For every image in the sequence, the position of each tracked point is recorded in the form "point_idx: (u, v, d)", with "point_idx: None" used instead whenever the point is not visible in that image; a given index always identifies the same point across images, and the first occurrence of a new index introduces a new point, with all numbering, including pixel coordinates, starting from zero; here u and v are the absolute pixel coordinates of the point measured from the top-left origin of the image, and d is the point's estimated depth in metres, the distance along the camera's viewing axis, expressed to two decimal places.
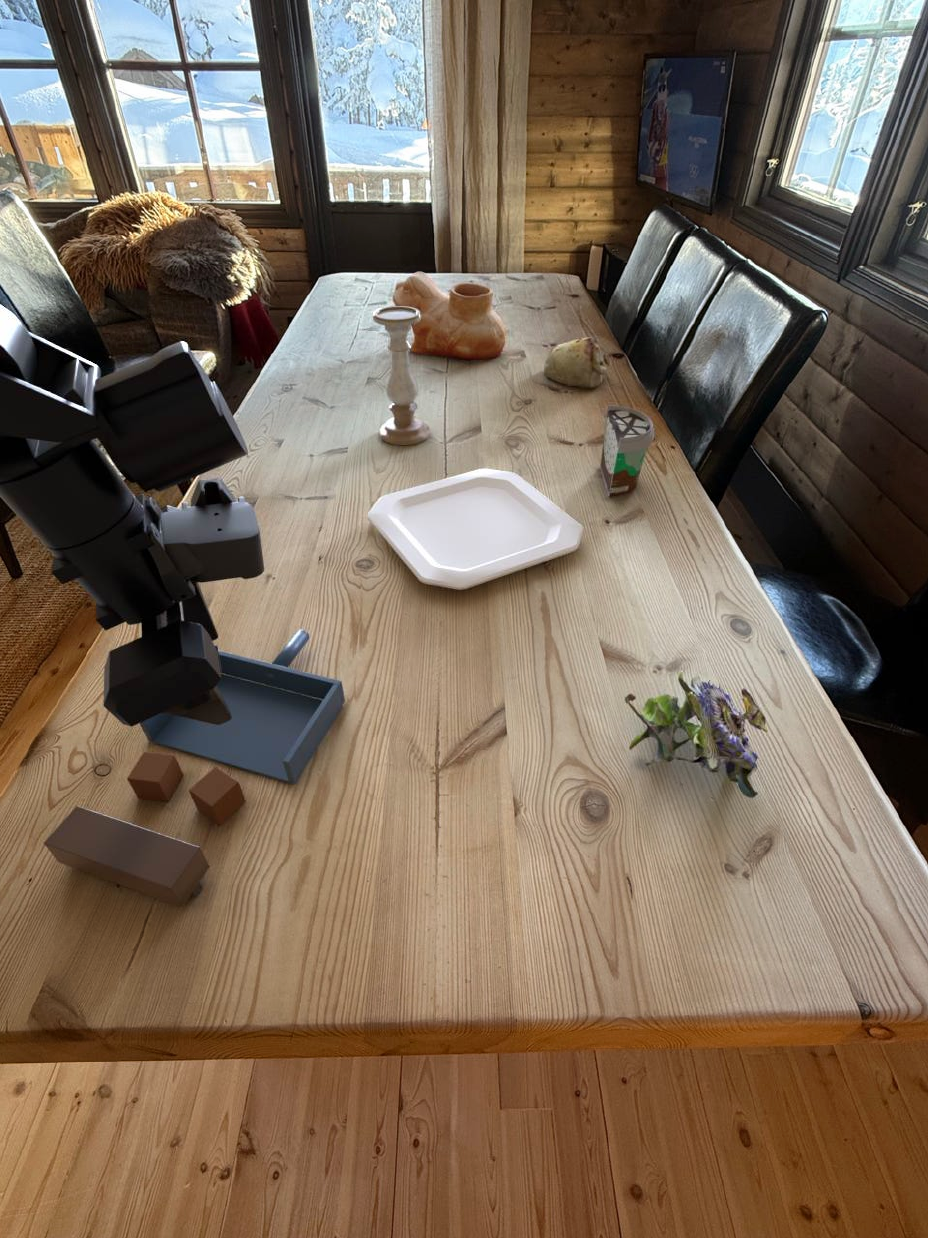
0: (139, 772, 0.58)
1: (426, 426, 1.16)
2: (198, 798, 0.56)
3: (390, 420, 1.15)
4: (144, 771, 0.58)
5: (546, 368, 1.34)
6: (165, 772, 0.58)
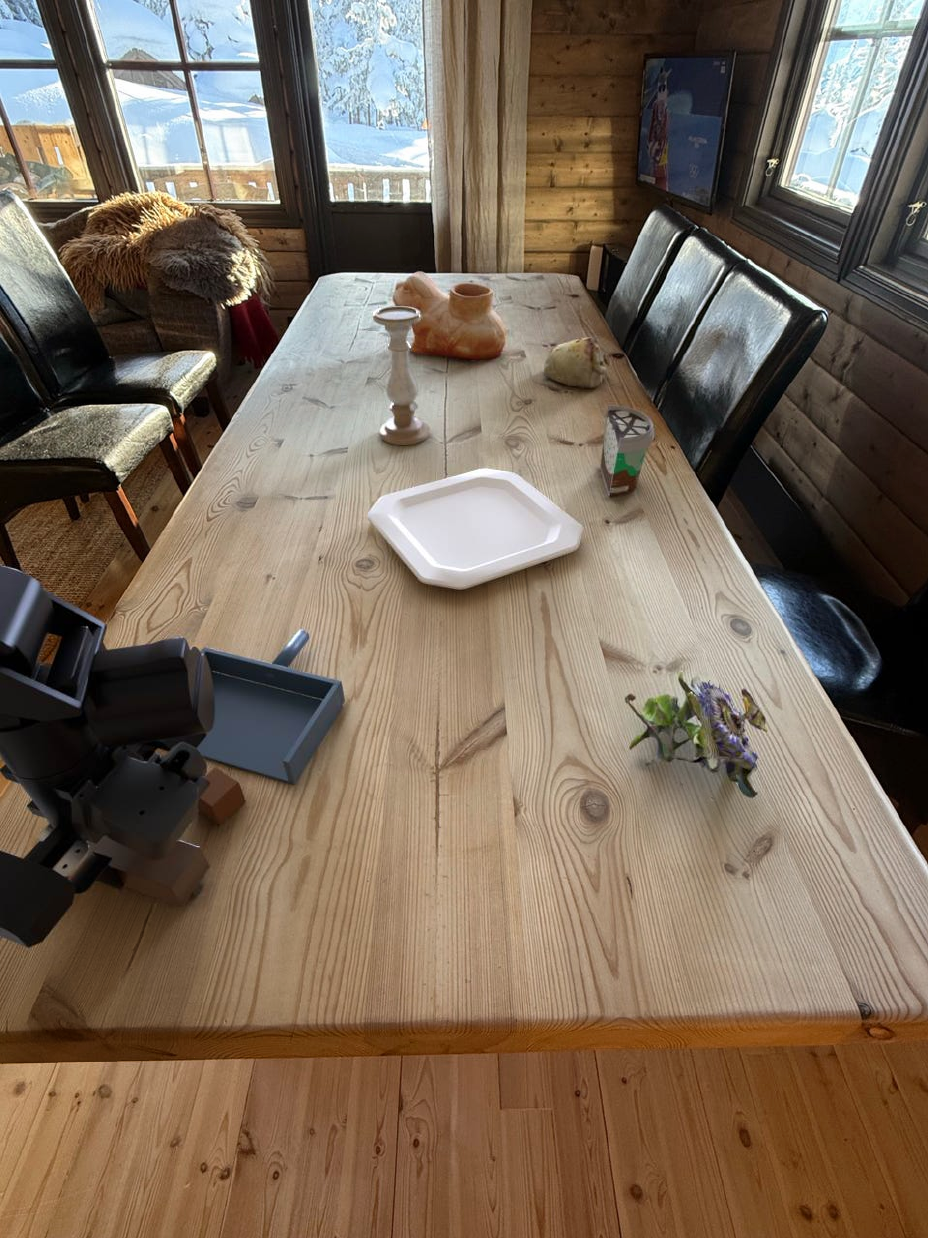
0: None
1: (426, 426, 1.16)
2: None
3: (390, 420, 1.15)
4: None
5: (546, 368, 1.34)
6: None
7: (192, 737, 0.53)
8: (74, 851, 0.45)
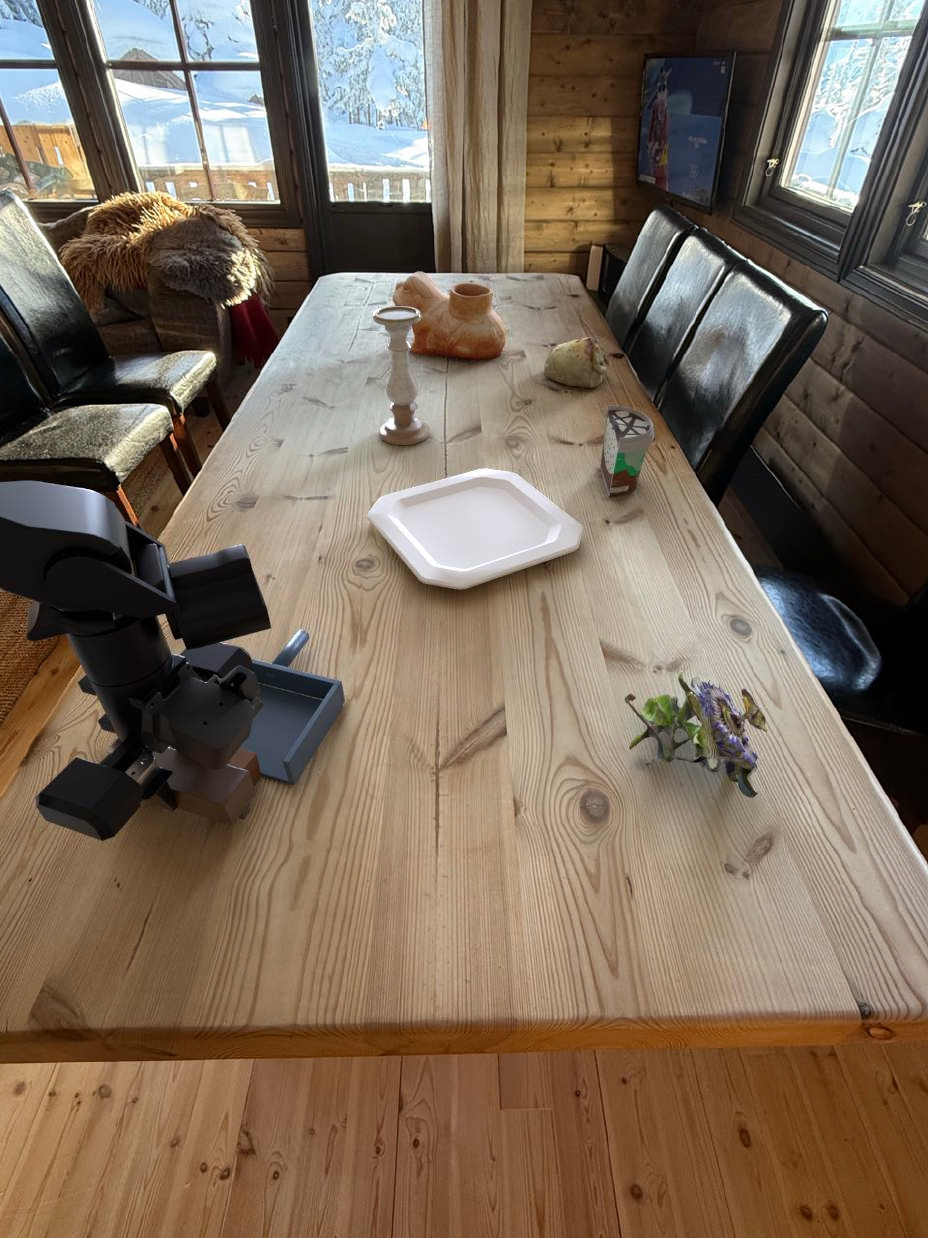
0: None
1: (426, 426, 1.16)
2: None
3: (390, 420, 1.15)
4: None
5: (546, 368, 1.34)
6: None
7: None
8: (141, 761, 0.49)
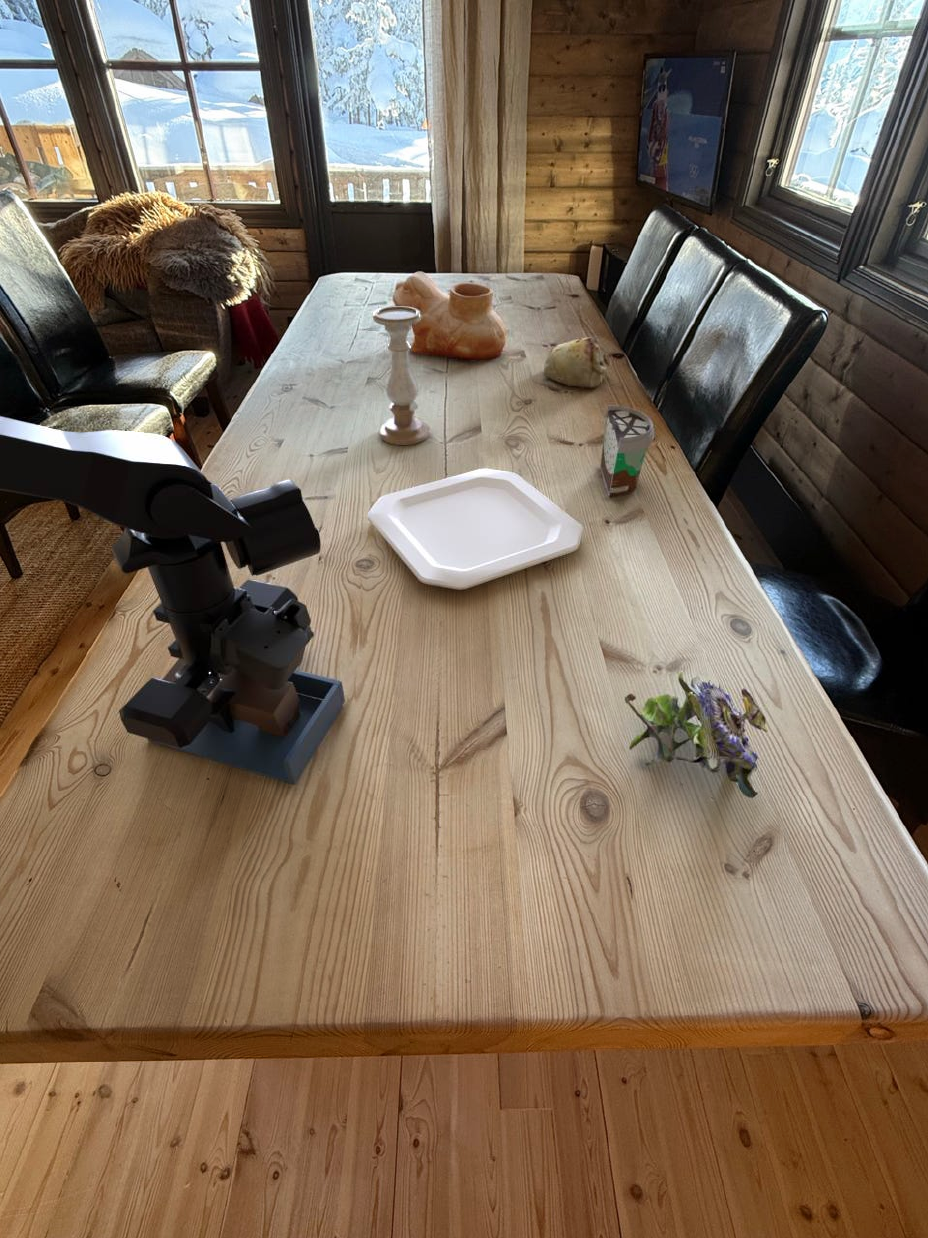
0: None
1: (426, 426, 1.16)
2: None
3: (390, 420, 1.15)
4: None
5: (546, 368, 1.34)
6: None
7: None
8: (209, 681, 0.56)
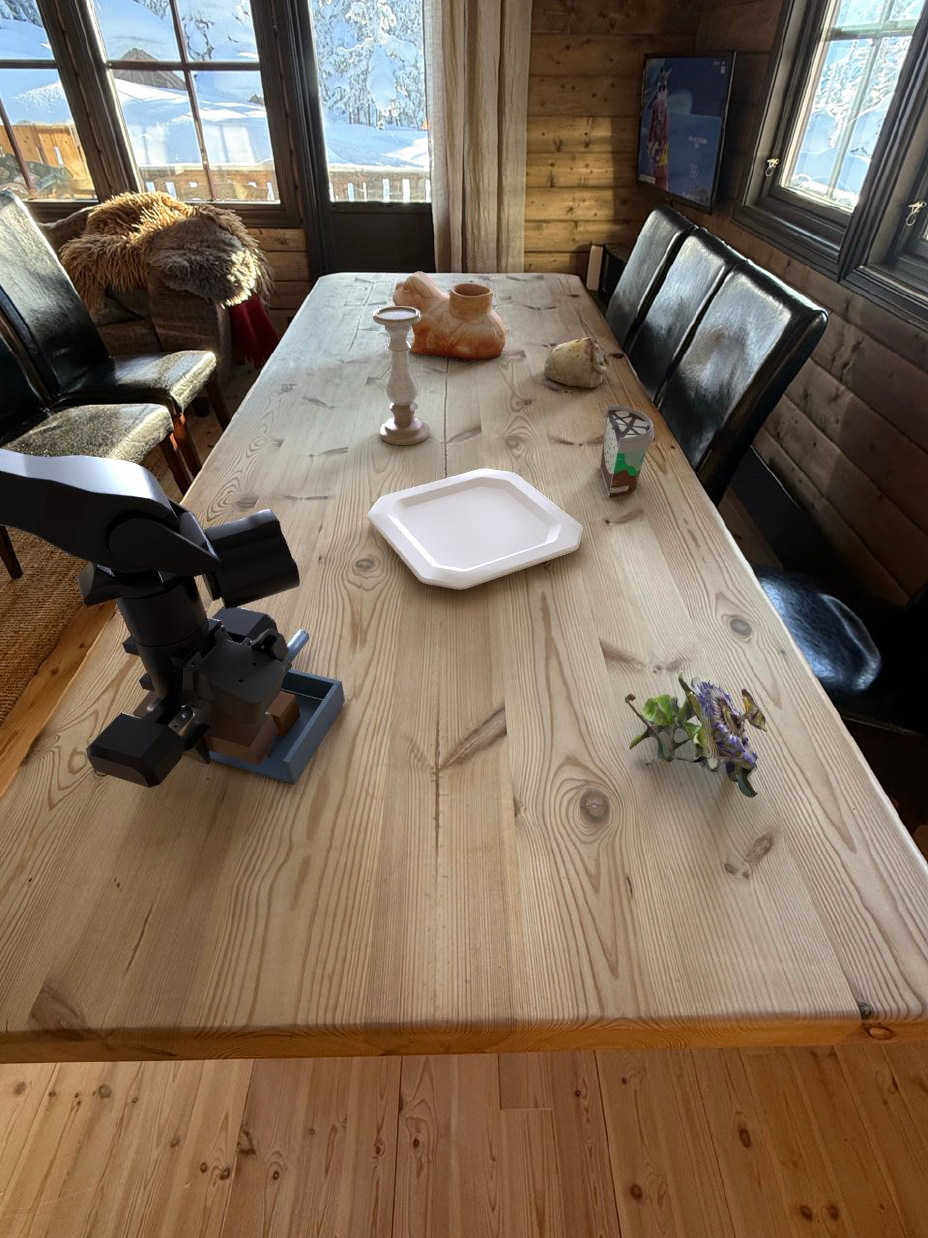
0: None
1: (426, 426, 1.16)
2: None
3: (390, 420, 1.15)
4: None
5: (546, 368, 1.34)
6: None
7: None
8: (181, 715, 0.53)
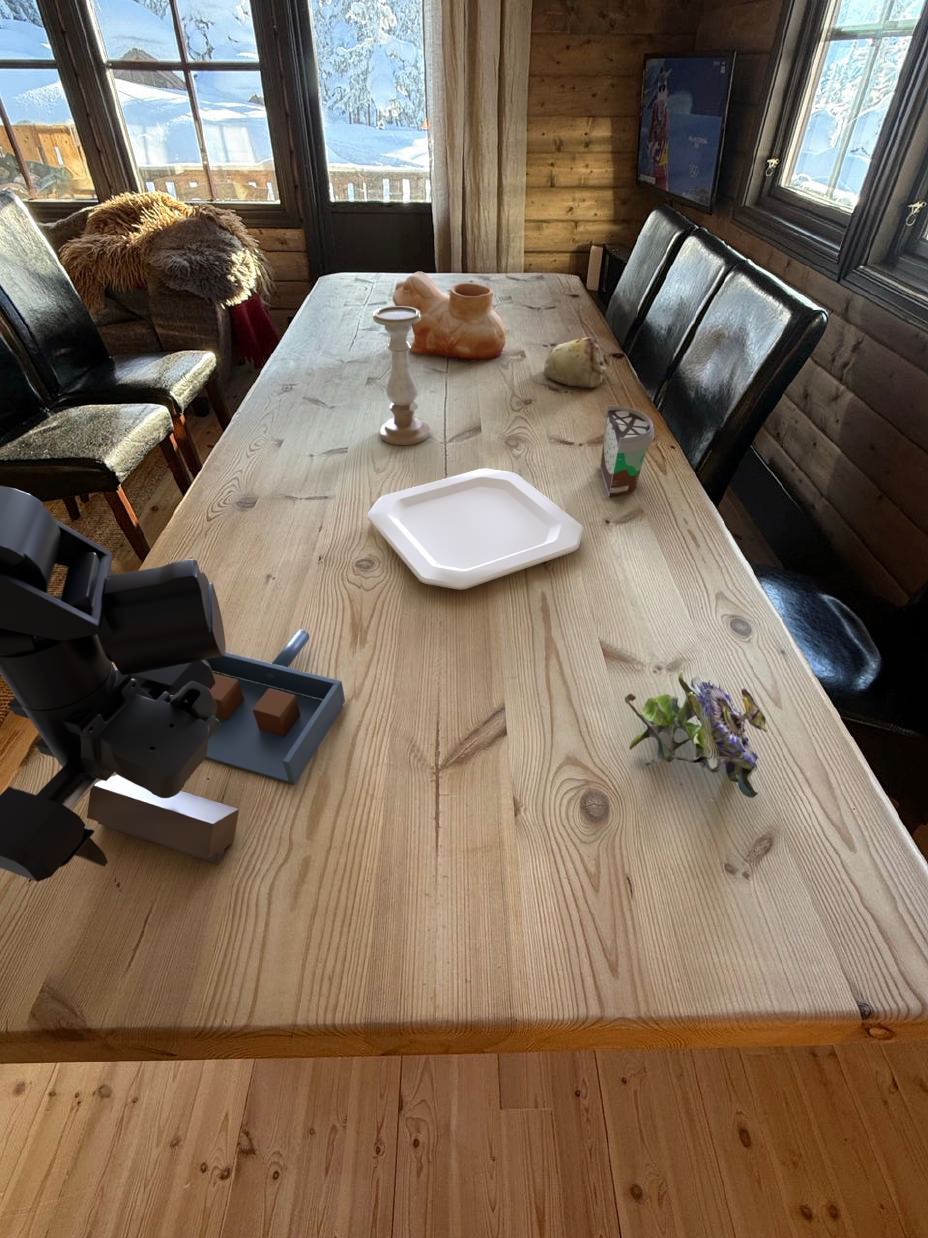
0: None
1: (426, 426, 1.16)
2: (278, 692, 0.65)
3: (390, 420, 1.15)
4: None
5: (546, 368, 1.34)
6: (240, 688, 0.67)
7: (201, 683, 0.52)
8: None
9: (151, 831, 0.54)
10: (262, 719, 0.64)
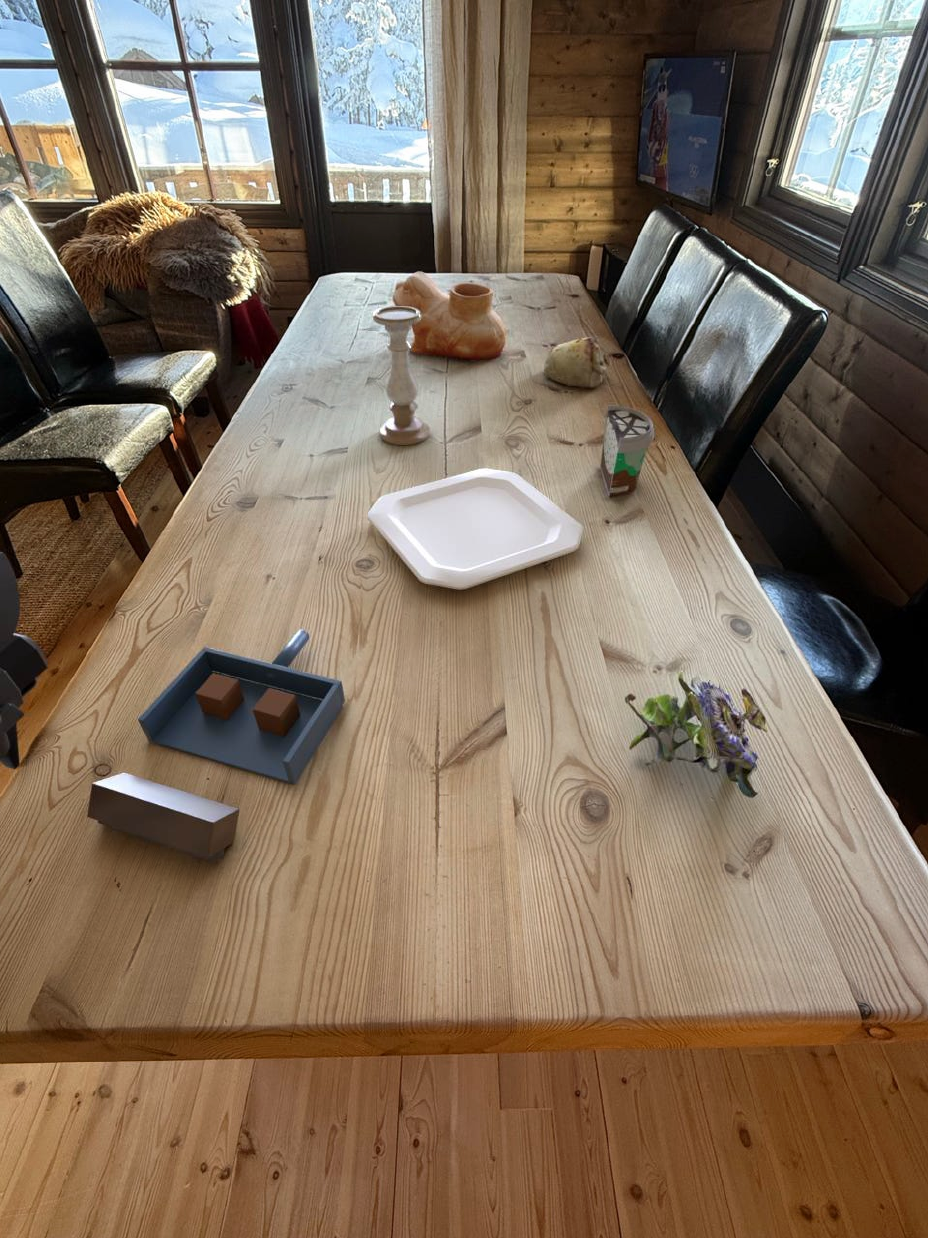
0: None
1: (426, 426, 1.16)
2: (278, 692, 0.65)
3: (390, 420, 1.15)
4: None
5: (546, 368, 1.34)
6: (240, 688, 0.67)
7: (24, 667, 0.45)
8: None
9: (151, 830, 0.54)
10: (262, 719, 0.64)
